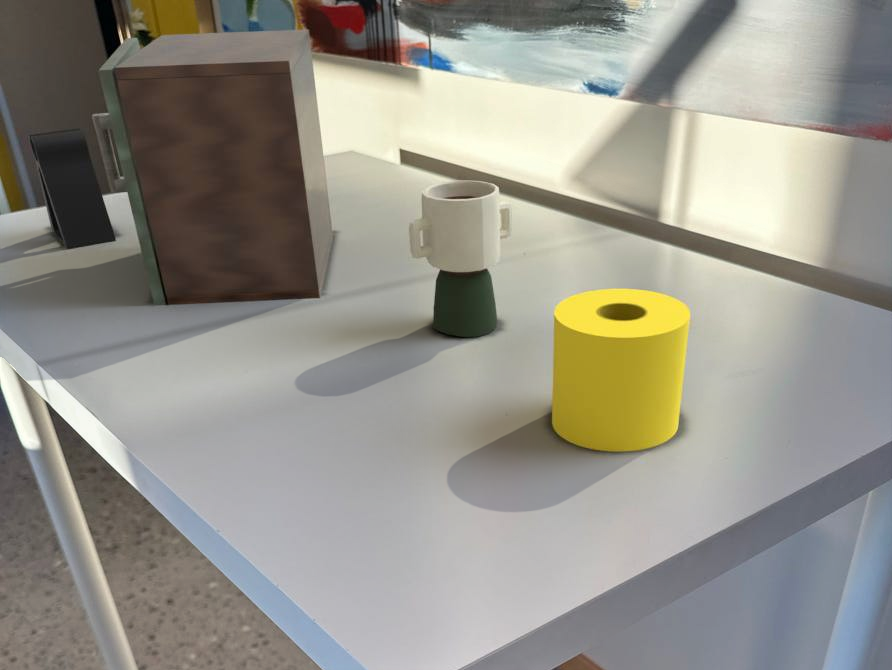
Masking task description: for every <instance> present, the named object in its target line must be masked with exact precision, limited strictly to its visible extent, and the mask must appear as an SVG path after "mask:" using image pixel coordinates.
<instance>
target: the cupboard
mask: <svg viewBox="0 0 892 670" xmlns="http://www.w3.org/2000/svg"><path fill="white" fill-rule="evenodd" d="M313 63H314V62H313V55H312V46H311V37H310V29H306V28H305V29H285V30H283V29H281V30H258V31H257V30H255V31H232V32H230V31H229V32H205V33H182V34H181V33H180V34H179V33H178V34H162V35H160V36H159V37H157V38H155V39H154V40H153V41H151V42H149V43H148V44H147V45H146V46H144V47H143V48H140V51H138V52H137V53H135V54H134V55H132V56H131V57H129V58H128V59H126V60H125V61H123V62H122V63H120V64H119V65H118V66H116V67H115V68H114V70H115V74H116V79H117V83H118V88H119V92H120V96H121V101H122V105H123V109H124V114H125V118H126V123H127V127H128V131H129V136H130V140H131V144H132V149H133V153H134V157H135V162H136V166H137V171H138V175H139V179H140V184H141V188H142V192H143V197H144V201H145V205H146V210H147V214H148V219H149V223H150V227H151V232H152V236H153V240H154V245H155V249H156V253H157V258H158V262H159V266H160V271H161V275H162V280H163V284H164V288H165V293H166V297H167V304H168V306H177V305H179V306H180V305H197V304H198V305H199V304H220V303H223V304H224V303H242V302H264V301H285V300H287V301H288V300H307V299H321V296H322V291H323V286H324V282H325V277H326V274H327V273H326V272H327V268H328V264H329V258H330V253H331V248H332V245H333V239H334V235H333V227H332V226H333V225H332V217H331V208H330V200H329V191H328V184H327V182H328V181H327V175H326V166H325V164H326V163H325V156H324V148H323V140H322V131H321V122H320V113H319V105H318V97H317V88H316V81H315V80H316V79H315V72H314V64H313Z"/></svg>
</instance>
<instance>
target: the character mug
mask: <svg viewBox="0 0 892 670" xmlns="http://www.w3.org/2000/svg"><path fill="white" fill-rule="evenodd" d="M420 201H421V218H418V219H417V218H416V219H414V220H412V221H411V222H409V226H408V235H409V236H408V237H409V248H410V249H409V250H410V254H411V256H412V258H413V259H421V258H426V260H427V262H428V264H429V265H430V266H432V267H433V268H434V269H435V268H436V269H438V270H439V271H438V274H437V276H436V279H435V288H434V299H433V315H432V316H433V318H432V319H433V321H432V328H433V329H434V330H436V331H438V332H439V333H444V334H446V335H450V336H454V337H455V336H456V337H460V338H477V337H478V338H479V337H482V336H485V335H488V334H490V333H492V332H493V331H494V330H495V329H496V328H497V325H498V314H497V312H498V311H497V303H496V298H495V291H494V286H493V279H492V275H491V273H490V271H489V268H491V267H494V266H495V265H496V264H497V263H499V262H500V257H501V240H504V239H507V238H509V237H510V236H511V235H512V230H513V228H512V227H513V226H512V225H513V224H512V222H513V221H512V214H513V213H512V211H513V210H512V205H511V202H510V201H507V200H504V201H503V200H502V201H500V188H499V186H498V185H496V184H494V183H491V182H486V181H482V180H481V181H480V180H468V179H467V180H465V179H464V180H463V179H461V180H447V181H441V182H435V183H432V184H429V185H427V186H426V187H424V188H422V191H421V200H420ZM500 219H501V220H500ZM421 231H422V245H421Z"/></svg>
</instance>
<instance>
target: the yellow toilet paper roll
mask: <svg viewBox="0 0 892 670" xmlns="http://www.w3.org/2000/svg"><path fill="white" fill-rule="evenodd" d="M690 321H691V310H690V309H689V307H688V306H687V304H685V303H684V302H683V301H681V300H679V299H677V298H675V297H672V296H671V295H669V294H668V295H667V294H664V293H661V292H656V291H651V290H647V289H646V290H645V289H636V288H604V289H596V290H590V291H584V292H580V293H577V294H573V295H570V296H568V297H566V298H565V299H562V300H561V301H560V302H559V303H558V304H556V306H555V308H554V311H553V349H552V350H553V354H552V355H553V356H552V359H553V360H552V364H553V365H552V401H551V403H552V404H551V406H552V407H551V411H552V412H551V424H552V428H553V430H554V431H555V432H556V434H557V435H558V436H560V437H561V438H562V439H564V440H565V441H567V442H569V443H571V444H574V445H576V446H579V447H582V448H585V449H586V448H587V449H590V450H595V451H600V452H601V451H602V452H616V453H617V452H618V453H619V452H620V453H621V452H635V451H641V450H646V449H651V448H654V447H656V446H657V447H658V446H659V445H662V444H664V443H665V442H667V441H669V440H670V439H671V438H673V437H674V436H675V434H676V433H677V431H678V428H679V423H680V422H679V420H680V412H681V405H682V394H683V386H684V385H683V384H684V376H685V366H686V357H687V347H688V340H689V339H688V338H689V332H690V329H689V328H690Z"/></svg>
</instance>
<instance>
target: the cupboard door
mask: <svg viewBox="0 0 892 670" xmlns="http://www.w3.org/2000/svg"><path fill="white" fill-rule="evenodd" d="M140 50H141V47H140V43H139V39H138V37H126V38H125V39H124V41H123V42H122V43H121V44H120V45H119V46H118V47H117V48H116V50H115V51H114V52H113V53H112V54H111V55H110V57H108V59H107V60H106V61H105V62H104V63H103V65H102V66H101V67H100V68H99V69H98V75H99V79H100V84H101V88H102V91H103V96H104V100H105V105H106V109H107V112H102V113H100V112H99V113H93V114H92V115H91V118H92V121H93V125H94V130H95V133H96V137H97V142H98V146H99V150H100V154H101V158H102V162H103V166H104V170H105V174H106V179H107V182H108V186H109V190H110V193H113V194H119V193H120V194H121V193H127V196H128V201H129V205H130V209H131V214H132V218H133V222H134V227H135V230H136V234H137V239H138V242H139V243H138V244H139V249H140V251H141V256H142V259H143V260H142V261H143V264H144V268H145V272H146V276H147V281H148V284H149V290H150V293H151V294H150V295H151V299H152V302H153V306H155V307H156V306H166V305H167V303H168V301H167V297H166V293H165V288H164V284H163V280H162V275H161V271H160V266H159V262H158V258H157V253H156V249H155V245H154V240H153V236H152V232H151V227H150V223H149V219H148V214H147V210H146V205H145V201H144V197H143V192H142V188H141V184H140V179H139V175H138V171H137V166H136V162H135V157H134V153H133V149H132V144H131V140H130V136H129V131H128V127H127V123H126V118H125V114H124V109H123V105H122V101H121V96H120V92H119V88H118V83H117V79H116V74H115V70H114V68H115V67H116V66H118V65H119V64H120V63H122V62H123V61H125V60H126V59H128V58H129V57H131V56H132V55H134V54H135V53H137V52H138V51H140ZM110 130H112V135H113V138H114V142H115V147H116V151H117V155H118V159H119V163H120V164H119V165H120V167H121V168H120V169H121V171H122V176H120V171H119V168H118V163H117V159H116V155H115V151H114V146H113V142H112V139H111V138H112V137H111V133H110Z"/></svg>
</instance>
